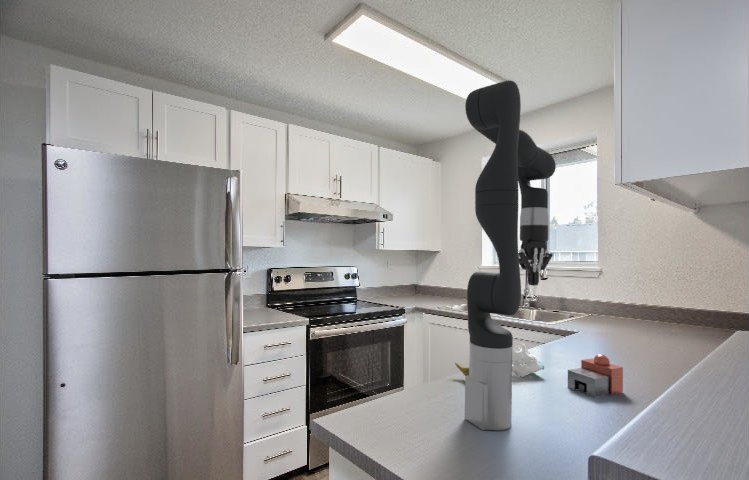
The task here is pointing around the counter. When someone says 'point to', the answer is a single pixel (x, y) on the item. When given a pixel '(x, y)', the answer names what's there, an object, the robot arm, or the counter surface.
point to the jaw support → (524, 361)
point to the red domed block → (604, 373)
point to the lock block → (589, 381)
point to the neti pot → (463, 369)
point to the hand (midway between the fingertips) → (533, 285)
